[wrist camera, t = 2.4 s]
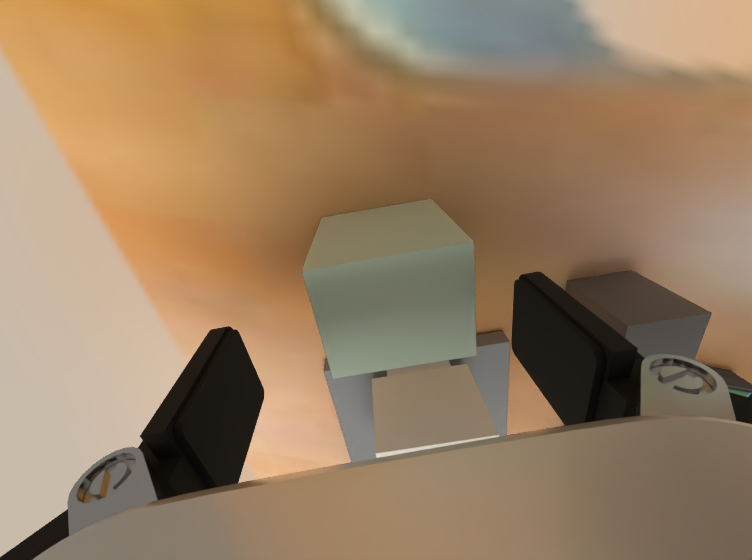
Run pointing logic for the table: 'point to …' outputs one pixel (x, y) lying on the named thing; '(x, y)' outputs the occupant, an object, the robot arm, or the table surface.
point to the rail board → (363, 401)
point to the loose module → (392, 288)
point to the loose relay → (643, 312)
